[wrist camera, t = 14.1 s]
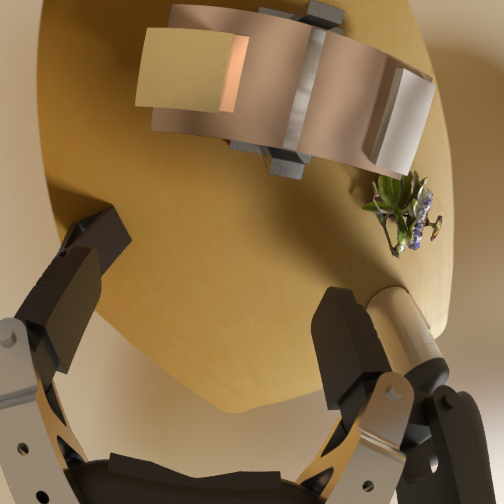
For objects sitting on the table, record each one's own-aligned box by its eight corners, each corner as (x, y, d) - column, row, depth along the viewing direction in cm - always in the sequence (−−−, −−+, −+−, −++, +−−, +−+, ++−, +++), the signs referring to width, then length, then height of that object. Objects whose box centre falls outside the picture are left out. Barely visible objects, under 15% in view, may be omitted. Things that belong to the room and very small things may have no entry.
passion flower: (394, 187, 44) (427, 250, 40) (341, 203, 43) (375, 273, 39) (420, 146, 33) (466, 218, 29) (361, 158, 32) (409, 243, 28)
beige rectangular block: (233, 47, 19) (233, 33, 12) (222, 102, 22) (217, 113, 15) (173, 41, 18) (147, 27, 12) (164, 95, 21) (134, 106, 14)
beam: (421, 76, 22) (441, 79, 19) (391, 173, 29) (407, 186, 26) (176, 9, 18) (168, 0, 15) (156, 126, 25) (145, 134, 21)
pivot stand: (340, 31, 25) (381, 19, 16) (306, 160, 35) (333, 194, 26) (258, 9, 24) (269, -18, 15) (229, 145, 34) (227, 175, 25)
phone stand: (88, 254, 41) (59, 306, 32) (70, 224, 38) (33, 272, 28) (132, 239, 40) (107, 294, 31) (114, 205, 37) (80, 254, 27)
